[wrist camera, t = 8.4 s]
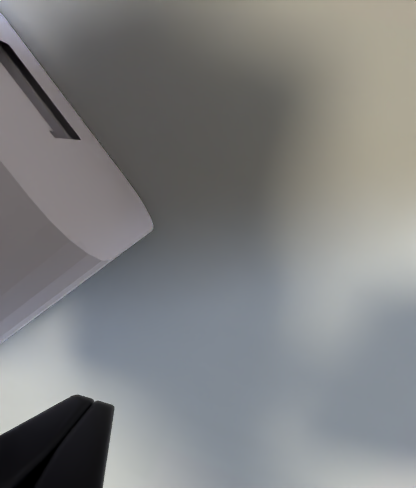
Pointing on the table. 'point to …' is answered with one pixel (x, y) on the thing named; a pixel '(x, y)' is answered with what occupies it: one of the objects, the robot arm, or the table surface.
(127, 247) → the charger
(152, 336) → the table surface
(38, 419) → the robot arm
